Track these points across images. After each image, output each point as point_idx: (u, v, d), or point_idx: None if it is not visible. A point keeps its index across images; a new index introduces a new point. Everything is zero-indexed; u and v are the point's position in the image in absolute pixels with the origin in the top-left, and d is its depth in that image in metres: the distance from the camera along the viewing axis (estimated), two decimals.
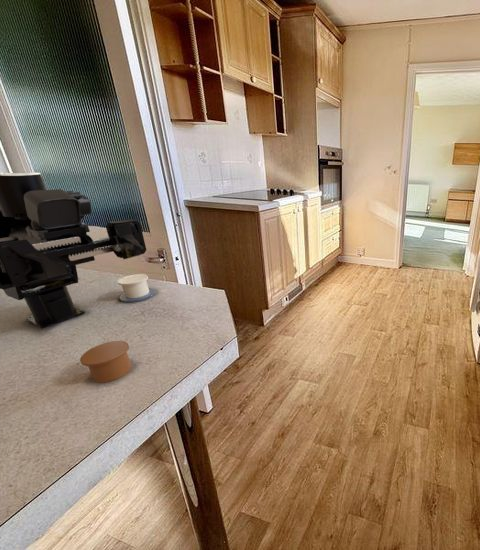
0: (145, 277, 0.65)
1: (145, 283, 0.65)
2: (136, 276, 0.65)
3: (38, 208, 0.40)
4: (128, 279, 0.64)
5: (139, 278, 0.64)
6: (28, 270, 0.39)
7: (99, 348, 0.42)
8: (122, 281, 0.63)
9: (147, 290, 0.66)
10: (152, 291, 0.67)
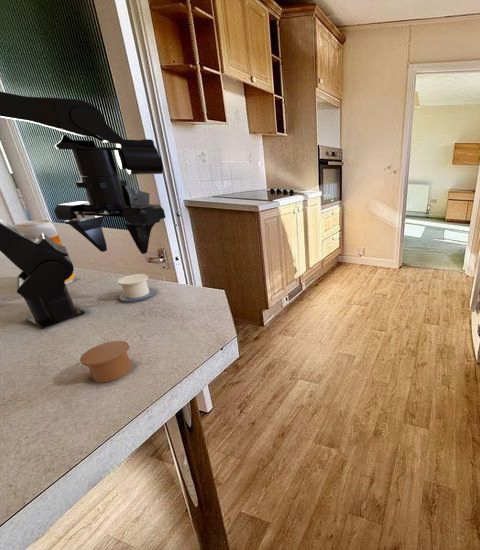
0: (145, 277, 0.65)
1: (145, 283, 0.65)
2: (136, 276, 0.65)
3: None
4: (128, 279, 0.64)
5: (139, 278, 0.64)
6: None
7: (99, 348, 0.42)
8: (122, 281, 0.63)
9: (147, 290, 0.66)
10: (152, 291, 0.67)
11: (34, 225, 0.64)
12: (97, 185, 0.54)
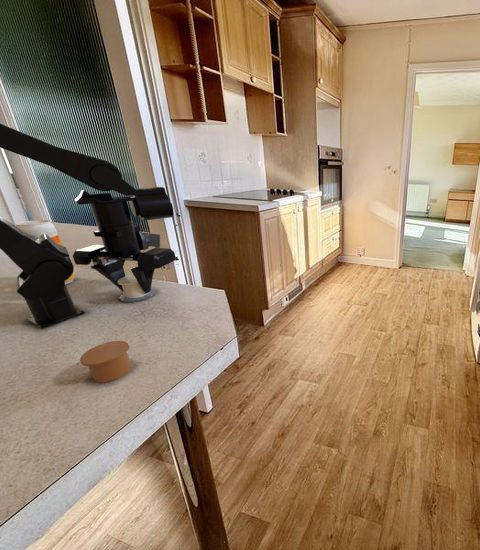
0: None
1: None
2: None
3: (158, 247, 0.68)
4: (128, 279, 0.64)
5: None
6: None
7: (99, 348, 0.42)
8: (122, 281, 0.63)
9: None
10: (152, 291, 0.67)
11: (34, 225, 0.64)
12: (113, 235, 0.57)
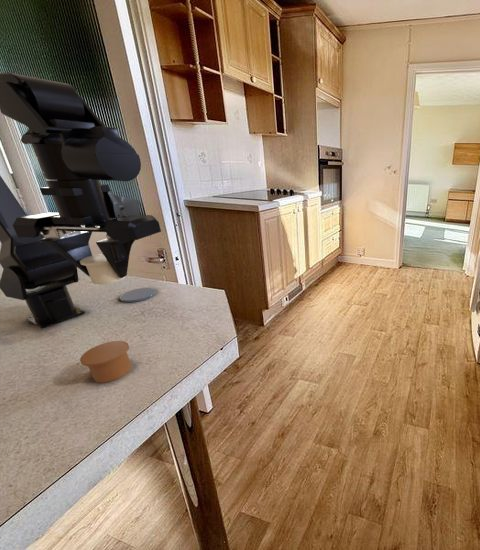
0: None
1: None
2: None
3: None
4: (95, 258, 0.47)
5: None
6: None
7: (99, 348, 0.42)
8: (86, 261, 0.46)
9: None
10: (152, 291, 0.67)
11: None
12: (69, 192, 0.40)
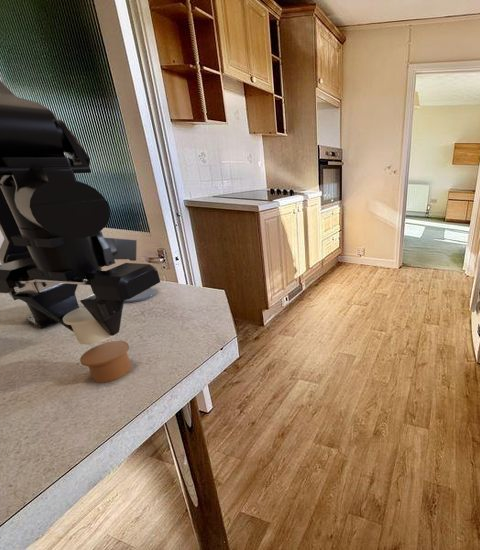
0: None
1: None
2: None
3: (133, 260, 0.43)
4: (82, 313, 0.39)
5: None
6: None
7: (99, 348, 0.42)
8: (71, 317, 0.38)
9: None
10: (152, 291, 0.67)
11: None
12: (47, 243, 0.32)
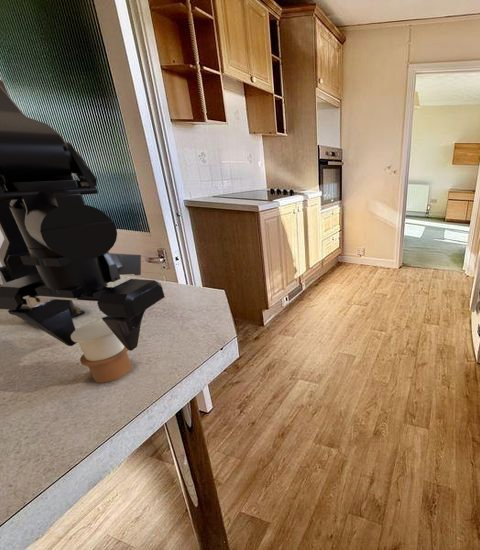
0: None
1: None
2: (103, 324, 0.42)
3: None
4: (89, 330, 0.40)
5: (107, 328, 0.41)
6: None
7: None
8: (79, 335, 0.39)
9: (121, 345, 0.42)
10: None
11: None
12: (55, 262, 0.33)
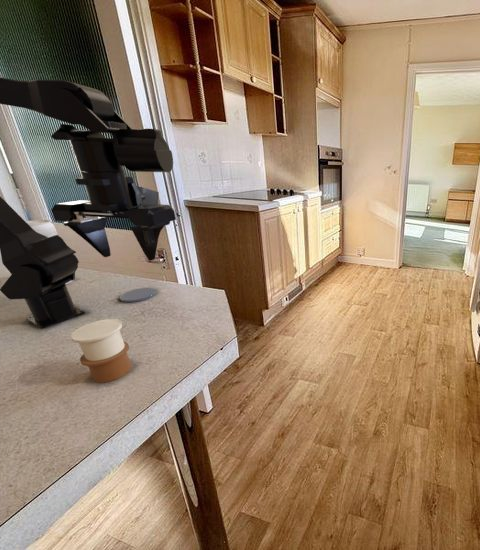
0: (117, 326, 0.41)
1: (117, 335, 0.42)
2: (103, 324, 0.42)
3: None
4: (89, 330, 0.40)
5: (107, 328, 0.41)
6: None
7: None
8: (79, 335, 0.39)
9: (121, 345, 0.42)
10: (152, 291, 0.67)
11: (34, 225, 0.64)
12: (99, 182, 0.47)
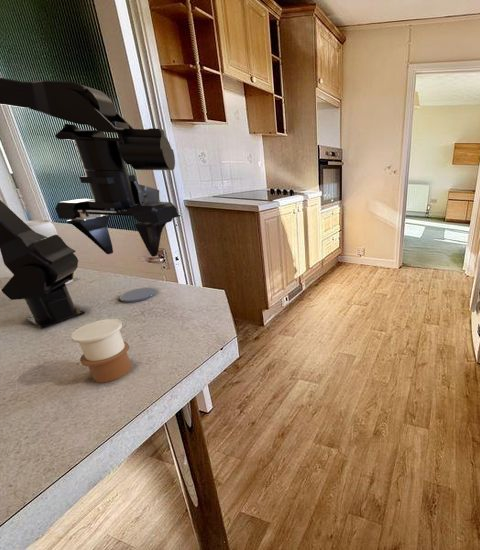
0: (117, 326, 0.41)
1: (117, 335, 0.42)
2: (103, 324, 0.42)
3: None
4: (89, 330, 0.40)
5: (107, 328, 0.41)
6: None
7: None
8: (79, 335, 0.39)
9: (121, 345, 0.42)
10: (152, 291, 0.67)
11: (34, 225, 0.64)
12: (103, 180, 0.48)
